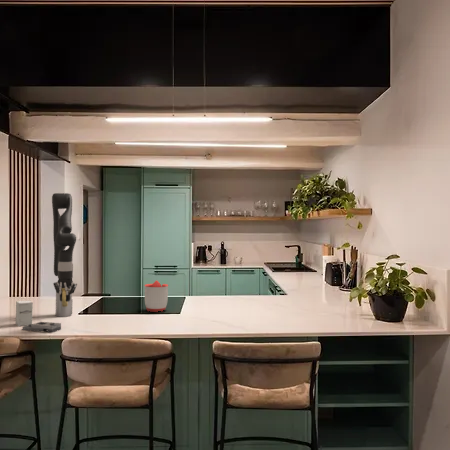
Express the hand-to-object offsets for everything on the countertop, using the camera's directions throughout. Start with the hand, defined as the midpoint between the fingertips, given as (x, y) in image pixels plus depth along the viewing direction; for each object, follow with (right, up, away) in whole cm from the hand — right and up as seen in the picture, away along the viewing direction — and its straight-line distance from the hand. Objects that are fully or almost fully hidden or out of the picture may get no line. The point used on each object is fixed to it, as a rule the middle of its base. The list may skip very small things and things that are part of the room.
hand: (64, 301), depth 229 cm
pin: (0, -3, 0) cm, 3 cm away
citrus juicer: (+42, -15, +49) cm, 66 cm away
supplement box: (-24, -14, +4) cm, 28 cm away
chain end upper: (-7, -14, -8) cm, 17 cm away
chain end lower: (-12, -14, -7) cm, 19 cm away
